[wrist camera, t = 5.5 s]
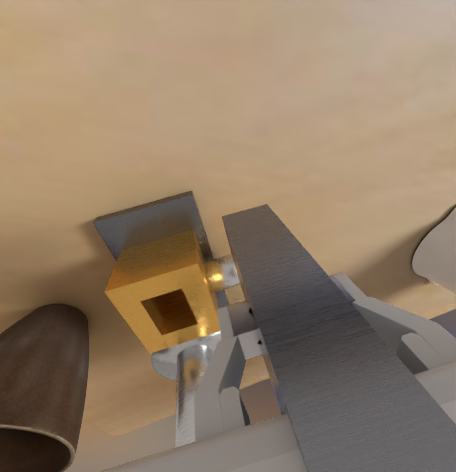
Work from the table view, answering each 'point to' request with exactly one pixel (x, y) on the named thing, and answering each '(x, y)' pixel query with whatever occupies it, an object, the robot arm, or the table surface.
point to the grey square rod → (332, 362)
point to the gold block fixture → (169, 291)
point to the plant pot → (43, 389)
